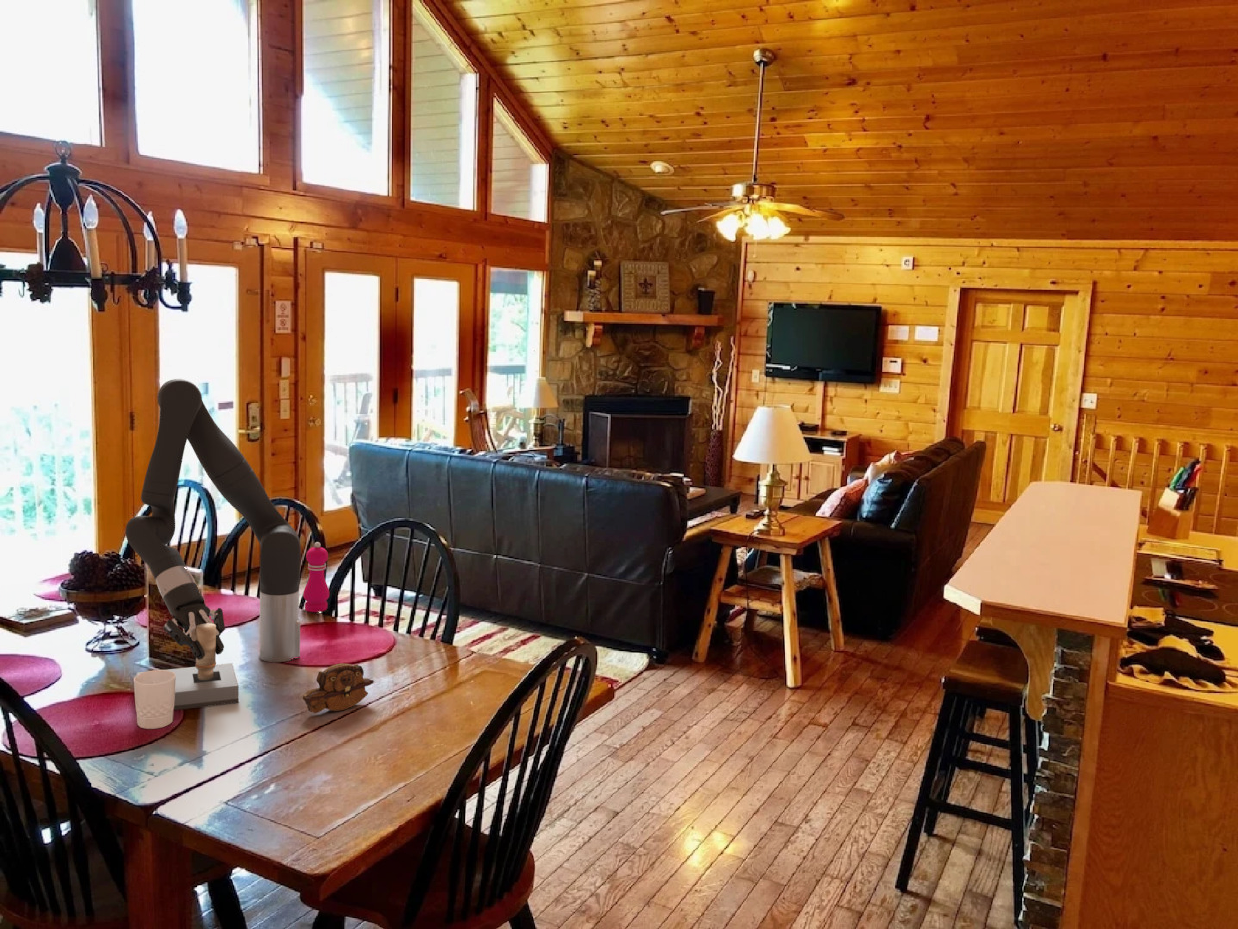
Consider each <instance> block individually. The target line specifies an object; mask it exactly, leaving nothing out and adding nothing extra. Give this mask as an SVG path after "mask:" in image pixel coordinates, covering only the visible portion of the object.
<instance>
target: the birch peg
mask: <svg viewBox="0 0 1238 929" xmlns="http://www.w3.org/2000/svg"><path fill="white" fill-rule="evenodd" d="M196 636H197V640H196V641H199V642H200V644H201V646H202V648H203V651H204V653H205V656H204V657H203V659H200V660H198V659H197V658H196V657H195V667H196V668H197V669H198V679H200V680H209V679H212V678H213V668H215V665H217V662H216V657H217V656H216V655H217V654H216V625H215V624H211V623H204V624H199V625H197V626H196Z"/></svg>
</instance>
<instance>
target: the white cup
mask: <svg viewBox="0 0 1238 929" xmlns="http://www.w3.org/2000/svg"><path fill="white" fill-rule="evenodd" d="M167 670H168V669H154V670H148V671H142V672H143V673H141V674H138V675H137V674H136V675H135V676H134V677H133V685H134V686H133V689H134V702H135V703H134V704H135V712H136V724H137V726H139V728H142V729H147V730H153V729H154V730H155V729H161V728H164V727H166V726H167V727H168V726H169V725H170V724H171V723H172V724H173V721H174V710H173V709H174V702H175V683H176V674H175V673H174V672H171V671H167Z"/></svg>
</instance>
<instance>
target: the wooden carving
mask: <svg viewBox="0 0 1238 929" xmlns="http://www.w3.org/2000/svg"><path fill="white" fill-rule="evenodd" d="M364 673H365V672H364V669H363V667H362V665H359V664H357V663H355V664H351V663H337V664H333V665H330V666H329V667H327V668H325V669H324V670H323V671H321V670H319V671H318V674H317V676H316V679H315V680H316V683H318V686H319V687H317V688H313V689H310V690H308V691H306V692H305V693H304V694H303V695H302V700H303V701H304V702H305V704H306V708H307V710H308V712H309V713H313V714H318V713H320V712H322V711H323V710H328V711H334V712H335V711H343V710H347V709H349V707H350V708H352V707H354V706H355V705H357V704H359V703H360V702H361V701H362V700H364V699H365V698H366V697H367V696H368V694H369V692H367V690H366V687H368V686H371V685H373V684H374V679H370V678H368V677H367V678H366V677H365V678H364Z"/></svg>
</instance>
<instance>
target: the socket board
mask: <svg viewBox="0 0 1238 929" xmlns="http://www.w3.org/2000/svg"><path fill="white" fill-rule="evenodd" d="M166 670H167V671H171V672H174V673H175V674H176V683H175V702H174V709H173V711H178V710H179V709H180V710H186V709H187V710H188V709H196V708H205V707H212V706H213V707H214V706H221V705H232V704H239V703H240V702H239V695H240V694H239V690H240V689H239V686H240V685H239V683H238V679H237V676H236V674H237V673H236V672H235V668H234V665H233V663H232V662H230V663H221V664H216V665H215V668H213V678H212V679H209V680H200V679H198V669H197V668H196V666H191V667H190V666H189V667H181V668H179V667H178V668H170V669H166ZM143 672H144V671H140V672H136V676H137V675H138V674H141V673H143ZM180 710H179V711H180Z"/></svg>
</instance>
